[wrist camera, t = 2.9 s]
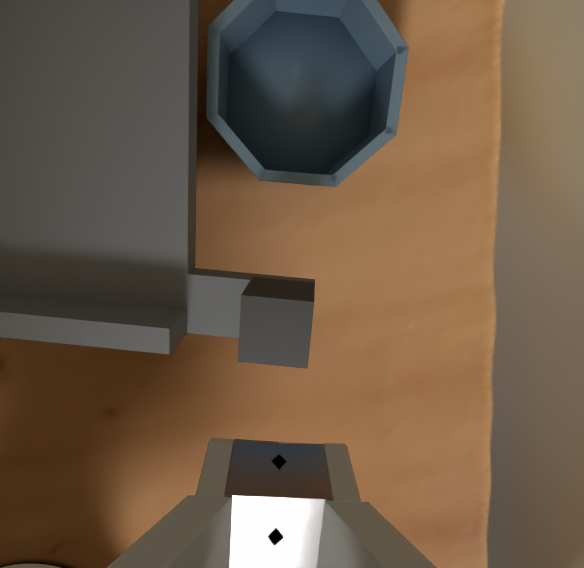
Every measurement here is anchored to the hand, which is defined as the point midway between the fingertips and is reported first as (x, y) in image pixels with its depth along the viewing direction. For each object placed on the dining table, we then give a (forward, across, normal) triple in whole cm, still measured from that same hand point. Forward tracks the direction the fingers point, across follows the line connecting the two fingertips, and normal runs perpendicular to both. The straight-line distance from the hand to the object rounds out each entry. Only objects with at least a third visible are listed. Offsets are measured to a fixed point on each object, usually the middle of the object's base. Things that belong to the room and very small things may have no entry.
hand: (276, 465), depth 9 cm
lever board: (+13, -8, +7) cm, 16 cm away
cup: (+20, +1, +11) cm, 23 cm away
